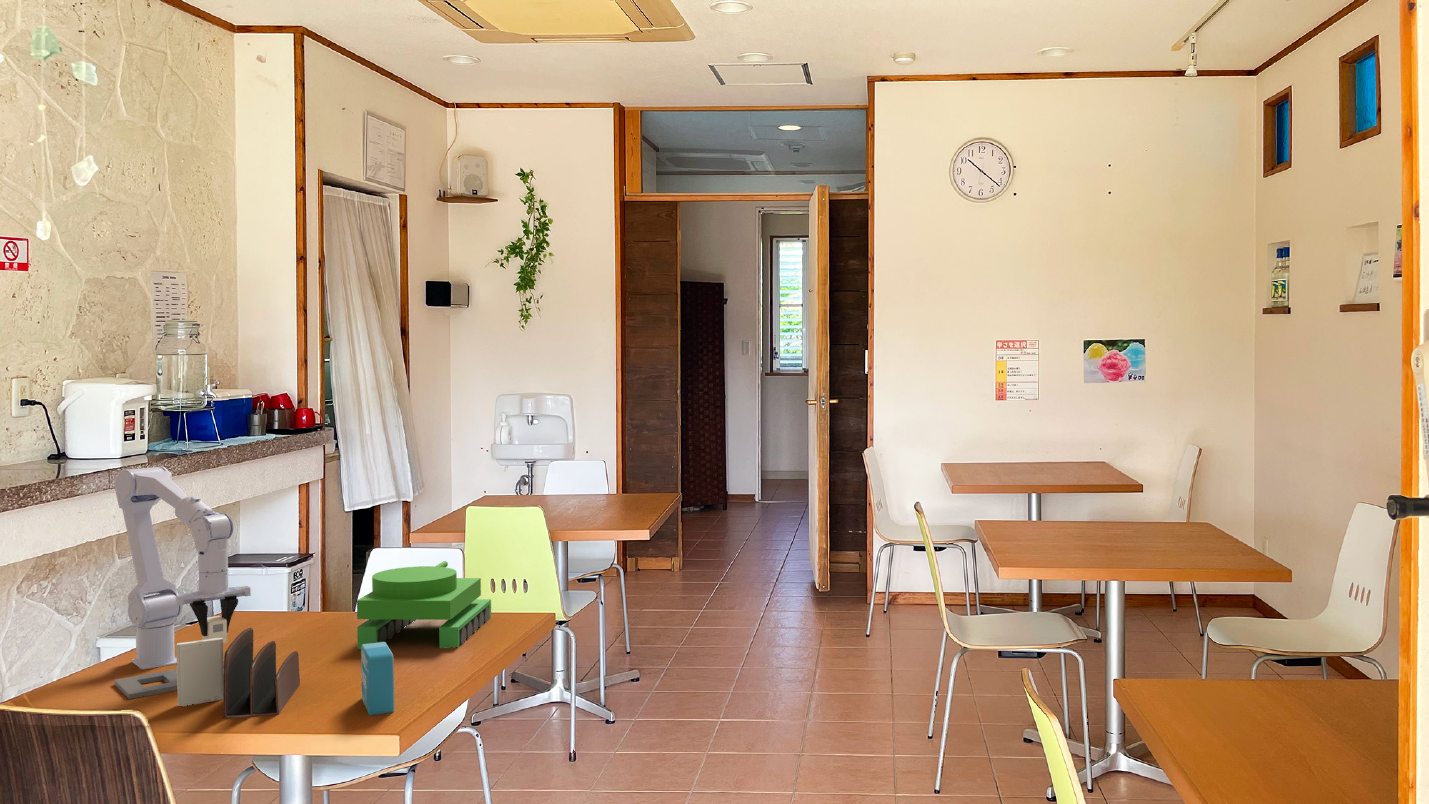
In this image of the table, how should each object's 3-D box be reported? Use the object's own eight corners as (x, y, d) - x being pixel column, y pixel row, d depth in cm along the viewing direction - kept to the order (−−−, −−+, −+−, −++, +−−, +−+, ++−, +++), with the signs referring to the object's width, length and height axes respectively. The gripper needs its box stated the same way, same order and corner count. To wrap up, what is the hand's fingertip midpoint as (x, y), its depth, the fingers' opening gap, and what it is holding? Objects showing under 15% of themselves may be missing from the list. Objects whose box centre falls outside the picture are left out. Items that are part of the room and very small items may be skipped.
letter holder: (222, 722, 198) (221, 647, 198) (249, 690, 218) (248, 622, 217) (279, 719, 200) (277, 645, 200) (300, 687, 220) (299, 620, 219)
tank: (498, 618, 280) (497, 557, 279) (460, 654, 245) (459, 584, 244) (407, 618, 281) (406, 557, 280) (356, 654, 246) (355, 584, 246)
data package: (361, 703, 209) (360, 642, 209) (385, 699, 211) (384, 639, 211) (369, 721, 198) (368, 657, 198) (394, 717, 200) (393, 654, 200)
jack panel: (114, 684, 222) (114, 678, 222) (235, 663, 238) (235, 657, 238) (129, 699, 212) (129, 692, 212) (254, 675, 228) (254, 669, 228)
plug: (199, 639, 231) (199, 616, 231) (216, 636, 233) (216, 613, 233) (209, 645, 225) (209, 622, 225) (227, 642, 228) (226, 619, 227)
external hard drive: (224, 701, 211) (223, 638, 210) (178, 708, 206) (177, 644, 206) (223, 698, 212) (221, 637, 212) (177, 706, 208) (176, 643, 207)
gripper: (181, 578, 220) (183, 643, 221) (254, 569, 230) (255, 631, 230) (172, 573, 226) (174, 636, 226) (244, 564, 235) (245, 625, 235)
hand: (214, 633), depth 228 cm, fingers closed on plug, 3 cm apart
